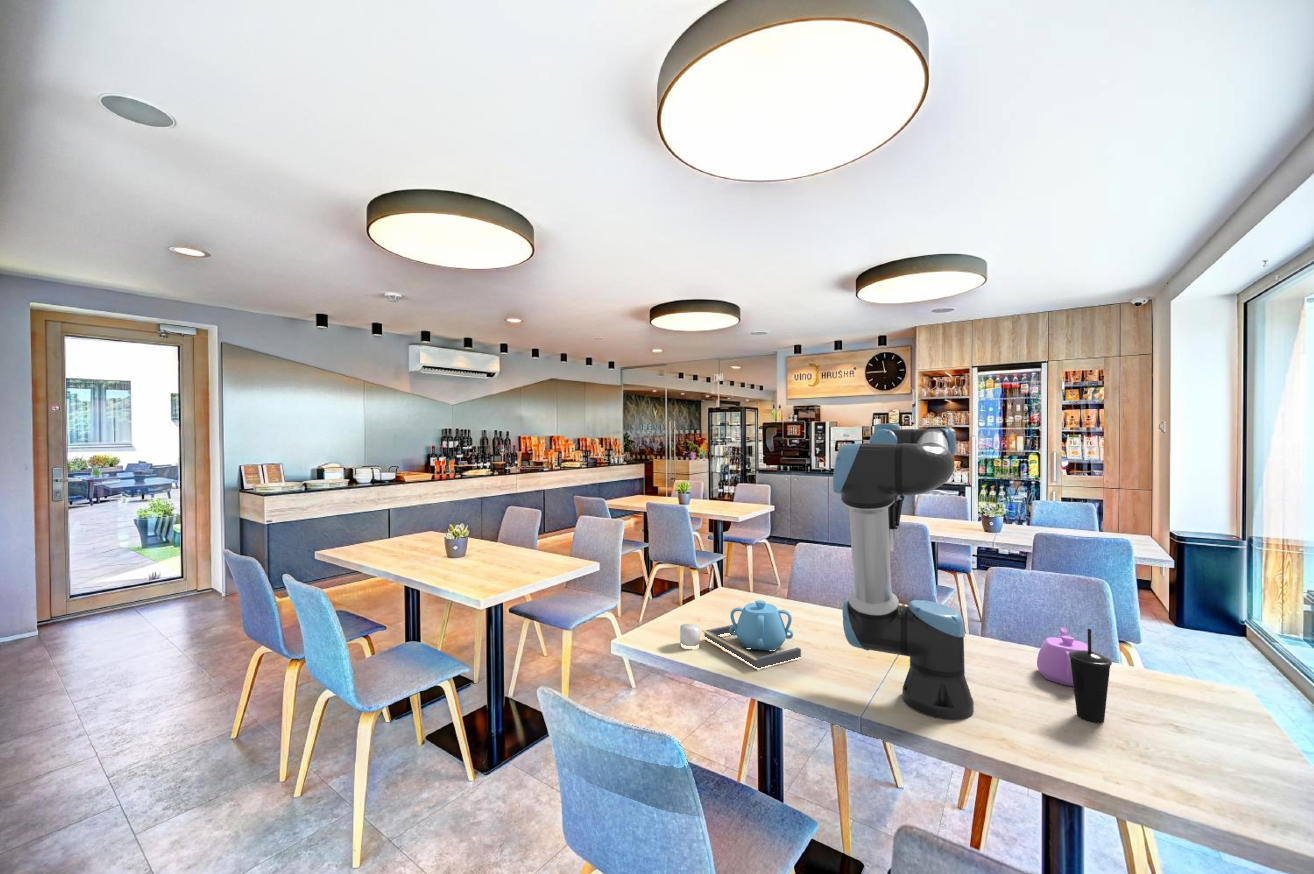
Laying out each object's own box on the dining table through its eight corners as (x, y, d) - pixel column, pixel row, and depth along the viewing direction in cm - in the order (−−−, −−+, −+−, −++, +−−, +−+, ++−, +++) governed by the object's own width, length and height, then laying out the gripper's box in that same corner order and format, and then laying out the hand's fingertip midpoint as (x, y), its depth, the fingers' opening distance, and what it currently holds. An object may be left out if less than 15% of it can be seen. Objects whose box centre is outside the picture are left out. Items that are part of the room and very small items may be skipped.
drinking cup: (1115, 730, 117) (1114, 637, 117) (1071, 720, 121) (1070, 631, 121) (1109, 715, 123) (1108, 627, 123) (1067, 706, 127) (1066, 621, 127)
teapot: (1093, 669, 148) (1092, 629, 148) (1107, 699, 130) (1107, 653, 131) (1033, 659, 154) (1033, 621, 155) (1040, 687, 137) (1039, 643, 137)
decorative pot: (799, 649, 163) (799, 604, 163) (756, 659, 156) (756, 612, 156) (765, 632, 178) (765, 591, 178) (724, 641, 171) (724, 597, 171)
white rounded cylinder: (703, 647, 165) (703, 628, 165) (686, 651, 162) (686, 631, 162) (691, 640, 171) (691, 621, 171) (675, 644, 168) (675, 625, 168)
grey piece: (800, 659, 156) (800, 647, 156) (755, 671, 148) (755, 659, 148) (744, 631, 179) (744, 621, 179) (702, 640, 171) (702, 630, 171)
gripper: (890, 472, 173) (891, 546, 173) (863, 473, 167) (863, 550, 166) (912, 473, 166) (912, 550, 166) (883, 474, 160) (884, 554, 160)
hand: (888, 550), depth 166 cm, fingers closed
